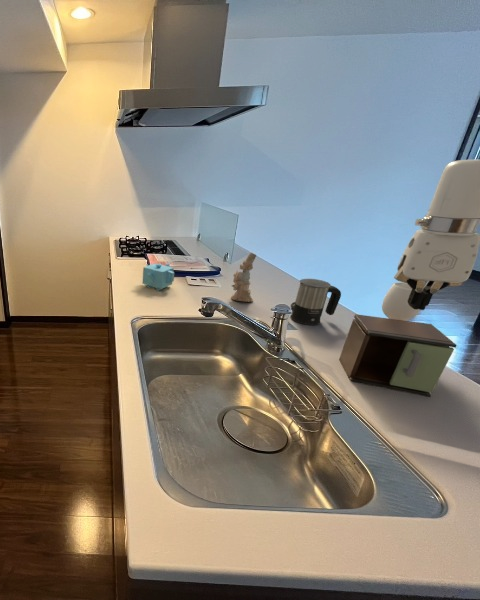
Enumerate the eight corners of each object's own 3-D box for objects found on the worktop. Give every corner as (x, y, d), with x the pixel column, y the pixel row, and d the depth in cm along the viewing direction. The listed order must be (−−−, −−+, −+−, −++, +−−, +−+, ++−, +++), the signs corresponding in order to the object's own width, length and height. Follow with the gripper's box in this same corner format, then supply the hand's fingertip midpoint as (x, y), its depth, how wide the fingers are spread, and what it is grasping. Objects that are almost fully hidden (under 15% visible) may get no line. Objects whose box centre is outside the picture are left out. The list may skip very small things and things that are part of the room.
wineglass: (405, 359, 94) (435, 293, 85) (367, 351, 98) (392, 288, 90) (398, 346, 100) (425, 284, 92) (363, 339, 105) (386, 279, 97)
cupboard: (409, 371, 88) (431, 323, 83) (430, 397, 79) (457, 345, 73) (338, 359, 95) (354, 314, 89) (350, 381, 85) (369, 332, 79)
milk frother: (304, 326, 113) (315, 288, 108) (271, 309, 128) (279, 273, 122) (337, 322, 116) (349, 284, 110) (301, 305, 130) (310, 270, 124)
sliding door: (430, 390, 79) (452, 347, 74) (438, 400, 76) (461, 355, 71) (389, 383, 82) (407, 340, 77) (395, 391, 79) (415, 348, 74)
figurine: (248, 296, 140) (257, 251, 132) (254, 303, 133) (264, 257, 125) (227, 295, 142) (234, 251, 134) (232, 302, 134) (240, 256, 126)
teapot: (133, 287, 153) (134, 264, 149) (155, 278, 164) (157, 257, 160) (161, 295, 143) (163, 271, 138) (182, 285, 154) (185, 263, 149)
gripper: (409, 227, 65) (379, 309, 72) (515, 230, 59) (472, 319, 66) (394, 221, 71) (368, 297, 78) (488, 223, 65) (451, 305, 72)
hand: (415, 307), depth 72 cm, fingers closed
